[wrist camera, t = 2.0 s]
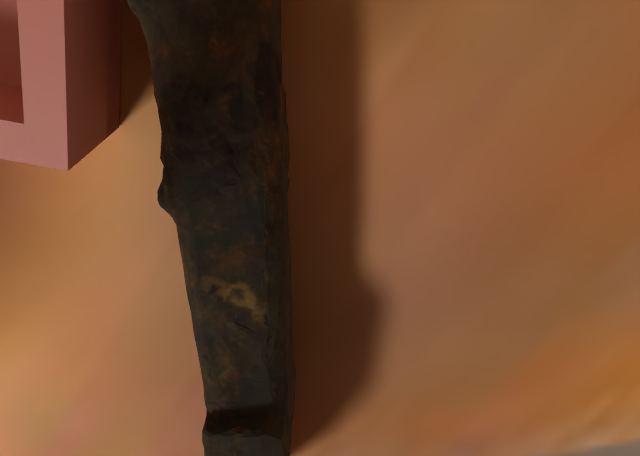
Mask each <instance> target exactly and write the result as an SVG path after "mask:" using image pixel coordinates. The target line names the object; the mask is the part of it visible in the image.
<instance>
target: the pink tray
mask: <svg viewBox="0 0 640 456" xmlns="http://www.w3.org/2000/svg"><path fill="white" fill-rule="evenodd" d="M120 53H121V0H0V159H4V160H10V161H15V162H21V163H26V164H32V165H38V166H43V167H49V168H54V169H60V170H66V171H68V170H70V169H71V168H72V167H73V166H74V165H75V164H77V163H78V162H79V161H80V160H81V159H82V158H84V157H85V156H86V155H87V154H88V153H89V152H91V151H92V150H93V149H94V148H95V147H96V146H98V145H99V144H100V143H101V142H102V141H103V140H105V139H106V138H107V137H108V136H109V135H110V134H112V133H113V132H114V131H115V130H116V129H117V128H119V114H120Z"/></svg>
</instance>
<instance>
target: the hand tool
mask: <svg viewBox="0 0 640 456" xmlns="http://www.w3.org/2000/svg"><path fill="white" fill-rule="evenodd" d="M127 2H128V5H129V7H130V10H131V11H132V12H133V13H134V14H135V15H136V17H137V18H138V19H139V21H140V24H141V27H142V30H143V33H144V36H145V39H146V42H147V46H148V52H149V57H150V64H151V71H152V76H153V82H154V95H155V99H156V103H157V106H158V113H159V119H160V125H161V130H162V139H161V154H160V159H161V161H162V163H163V165H164V168H163V179H162V182H161V184H160V186H159V189H158V202H159V205H160V206H161V207H162V208H163V209H164V210H165V211H167V212H168V213H169V214H170V215H171V217H172V218H173V220H174V222H175V223H176V226H177V232H178V239H179V245H180V250H181V256H182V262H183V268H184V276H185V283H186V290H187V296H188V301H189V305H190V310H191V315H192V322H193V330H194V336H195V341H196V346H197V351H198V356H199V362H200V367H201V373H202V379H203V384H204V398H205V404H206V408H207V415H206V420H205V424H204V427H203V431H202V442H203V445H204V454H205V456H289V455H290V453H289V448H290V443H291V428H292V417H293V408H294V395H295V380H296V372H295V367H294V363H293V359H292V323H291V322H292V304H291V255H290V240H289V234H288V206H287V190H288V185H289V178H288V165H289V136H288V125H287V120H286V94H285V91H284V88H283V85H282V58H281V3H280V0H127Z"/></svg>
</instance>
